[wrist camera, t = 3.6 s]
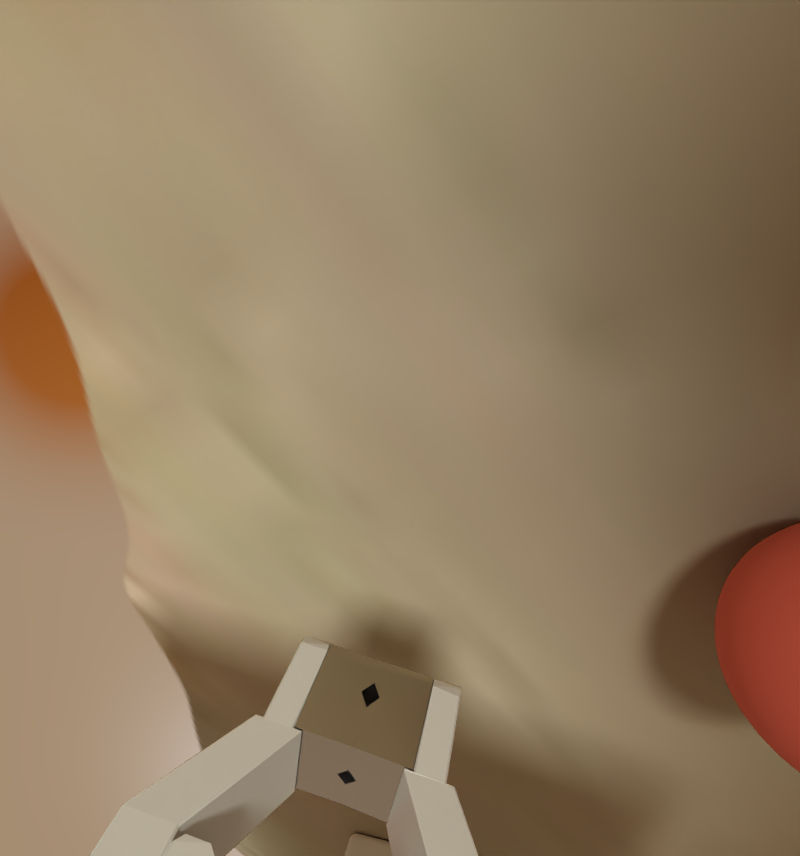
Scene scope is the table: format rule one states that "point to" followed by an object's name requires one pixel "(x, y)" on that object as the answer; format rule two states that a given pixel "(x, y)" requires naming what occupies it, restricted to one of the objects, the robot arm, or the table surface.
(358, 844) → the medicine bottle
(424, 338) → the table surface
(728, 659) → the ball
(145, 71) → the table surface
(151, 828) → the robot arm
